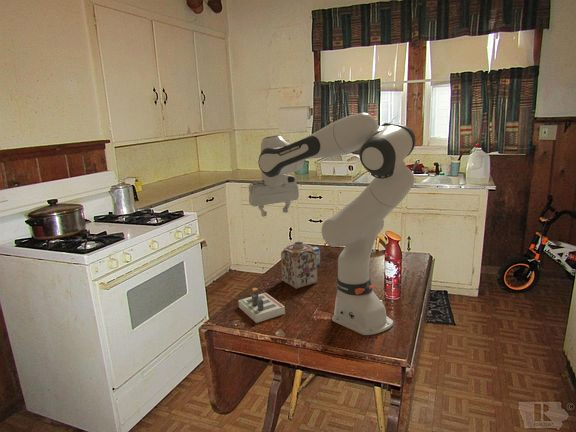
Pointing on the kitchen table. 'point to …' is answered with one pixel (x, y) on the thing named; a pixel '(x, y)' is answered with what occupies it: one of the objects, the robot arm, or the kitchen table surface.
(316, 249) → the medicine box
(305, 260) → the decorative jar
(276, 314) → the breaker box
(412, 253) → the kitchen table surface
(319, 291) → the kitchen table surface
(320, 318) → the kitchen table surface
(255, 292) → the breaker handle
